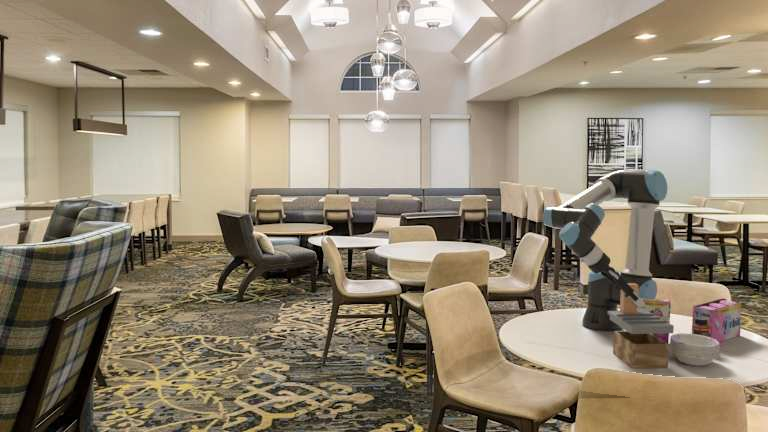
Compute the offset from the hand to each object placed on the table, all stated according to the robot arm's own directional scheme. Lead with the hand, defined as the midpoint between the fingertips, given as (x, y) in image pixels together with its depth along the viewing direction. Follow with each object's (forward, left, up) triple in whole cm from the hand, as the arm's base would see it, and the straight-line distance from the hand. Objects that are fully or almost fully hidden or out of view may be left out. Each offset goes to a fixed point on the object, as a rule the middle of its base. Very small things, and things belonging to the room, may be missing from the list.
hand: (639, 304), depth 228 cm
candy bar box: (-11, +11, -18) cm, 23 cm away
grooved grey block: (+8, -4, -5) cm, 11 cm away
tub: (+9, -3, -17) cm, 20 cm away
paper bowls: (+11, +15, -18) cm, 25 cm away
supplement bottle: (-3, +25, -18) cm, 30 cm away
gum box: (-16, +38, -18) cm, 45 cm away
